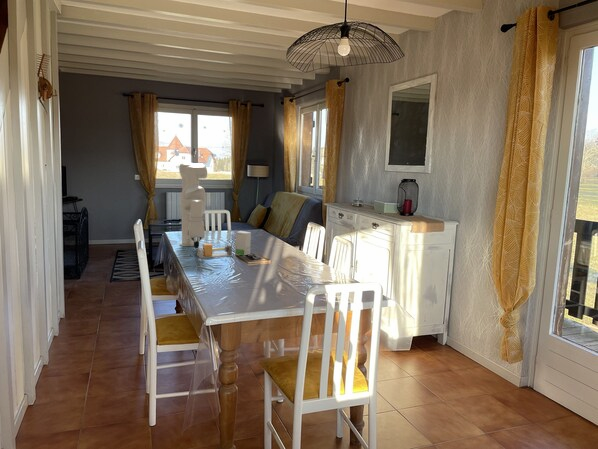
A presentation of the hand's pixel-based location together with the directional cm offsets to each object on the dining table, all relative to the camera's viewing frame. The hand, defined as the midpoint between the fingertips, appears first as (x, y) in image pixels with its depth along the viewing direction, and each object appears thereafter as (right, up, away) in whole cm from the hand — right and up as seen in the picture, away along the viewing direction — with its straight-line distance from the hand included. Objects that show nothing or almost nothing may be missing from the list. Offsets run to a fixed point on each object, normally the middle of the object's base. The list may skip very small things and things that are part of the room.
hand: (196, 247), depth 287 cm
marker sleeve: (+6, -6, +4) cm, 9 cm away
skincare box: (+28, -6, +11) cm, 31 cm away
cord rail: (+11, -6, +6) cm, 14 cm away
